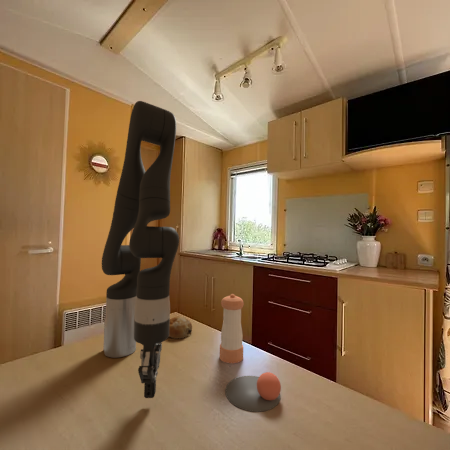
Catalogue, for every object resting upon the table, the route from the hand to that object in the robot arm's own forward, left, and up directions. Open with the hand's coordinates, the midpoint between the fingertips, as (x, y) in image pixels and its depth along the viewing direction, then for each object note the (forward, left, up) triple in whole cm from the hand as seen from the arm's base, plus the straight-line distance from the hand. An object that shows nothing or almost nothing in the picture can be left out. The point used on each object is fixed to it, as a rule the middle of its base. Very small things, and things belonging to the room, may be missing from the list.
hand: (149, 395), depth 55 cm
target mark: (+16, +17, -2) cm, 24 cm away
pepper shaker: (+3, +28, -2) cm, 28 cm away
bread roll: (-23, +31, -2) cm, 38 cm away
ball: (+20, +18, +1) cm, 27 cm away
